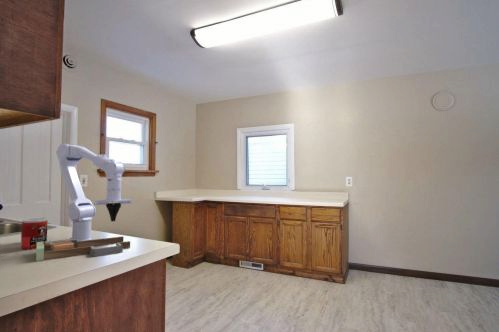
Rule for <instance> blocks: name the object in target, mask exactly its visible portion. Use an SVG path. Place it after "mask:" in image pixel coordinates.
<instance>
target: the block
mask: <svg viewBox="0 0 499 332" xmlns="http://www.w3.org/2000/svg"><path fill="white" fill-rule="evenodd" d="M71 248H74V243H72V242H71V241H66V242H58V243H51V251H55V250H63V249H71Z"/></svg>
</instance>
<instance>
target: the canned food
mask: <svg viewBox="0 0 499 332" xmlns="http://www.w3.org/2000/svg"><path fill="white" fill-rule="evenodd" d="M44 218H45V217H39V218H34V217H33V218H26V219H23V220H22V221H21V233H20V235H21V237H20V247H21V248H20V249H22V250H25V251H26V250H36V247H37V242H42V241H43V242H44V245H46V241H45V235H46V220H47V219H46V218H45V219H44Z"/></svg>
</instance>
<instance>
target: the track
mask: <svg viewBox="0 0 499 332" xmlns="http://www.w3.org/2000/svg"><path fill="white" fill-rule="evenodd" d="M117 243H120V244H121V245H123V250H126V249H130V248H131V241H129V240H128V241H124V236H114V237H106V238H96V239H93V240H87V241H78V242H77V248H71V249H63V250H55V251H51V245H49V244H45V245H44V260H43V261H47V260H53V259H60V258H61V259H62V258H66V257H75V256H81V255H89V254H90V252H91V247H92V246H94V247H98V246H99V247H100V246H106V245H107V246H109V245H115V246H117ZM90 255H91V254H90Z"/></svg>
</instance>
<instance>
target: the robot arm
mask: <svg viewBox="0 0 499 332" xmlns="http://www.w3.org/2000/svg"><path fill="white" fill-rule="evenodd" d="M55 153H56V156H57V159H58V163H59V168H60V169H59V170H60V172H61V174H62V177H63V180H64V183H65V186H66V189H67V191H68V194H69V197H70V198H69V199H70V200H71V201H70V203H68V205H67V211H68V218H69V219H70V221H71V222H72V232H71V233H72V235H71V237H69V240H73V239H79V240H80V241H87V240H94V239H93V237H92V220H93V219H94V217H95V216H96V214H97V208H96V206H105V207H106V209H107V211H108V214H109V217H110V222H116V219H117V215H118V213H119V211H120V209H121V207H122V205H123V204H126V205H127V204H129V205H130V204H132V203H133V199H131V198H122V182H123V181H122V180H123V179H122V177H123V174H124V173H125V170H126V166H125V165H124V164H123V163H122V162H120V161H119V162H118V161H117V162H116V161H115V159H114V158H113V159H111V158H109V157H108V156H107V154H95V152H93V151H91V150H89V149H87V147H85V146H83V145H77V144H76V145H74V144H68V143H64V142H63V143H61V144H59V145H58V147H57V149H56V151H55ZM82 159H86V160H89V161H90V162H92V163H93V166H95V167H96V168H98V169H100V170H102V171H103V172H104V174H105V178H106V199H96V200H95V199H94V201H93V202H94V203H92V200H90V199H89V198H88V197H86V195H85V193H84V190H83V187H82V184H81V181H80V179H79V176H78V173H77V170H76V166H77V165H79V163H80V162H81V160H82Z"/></svg>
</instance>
